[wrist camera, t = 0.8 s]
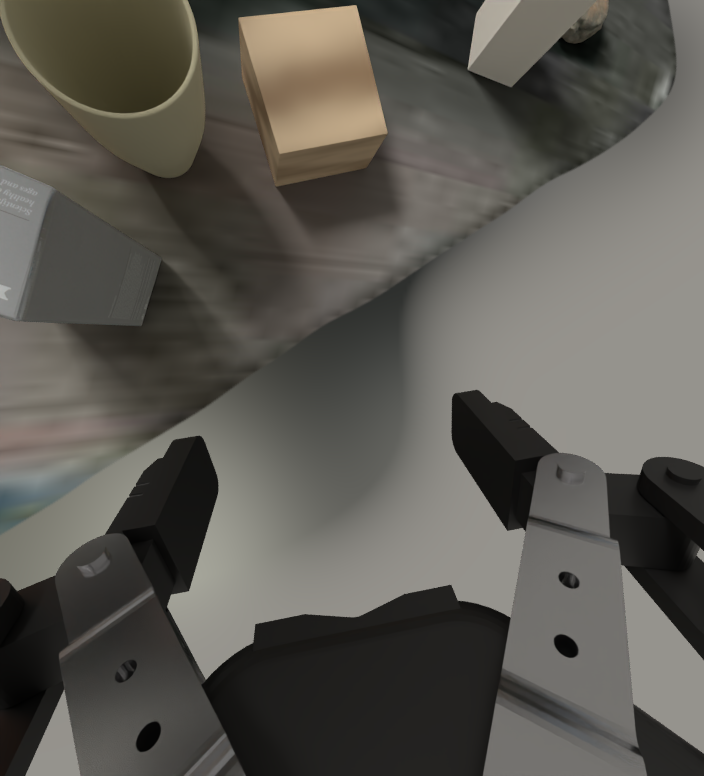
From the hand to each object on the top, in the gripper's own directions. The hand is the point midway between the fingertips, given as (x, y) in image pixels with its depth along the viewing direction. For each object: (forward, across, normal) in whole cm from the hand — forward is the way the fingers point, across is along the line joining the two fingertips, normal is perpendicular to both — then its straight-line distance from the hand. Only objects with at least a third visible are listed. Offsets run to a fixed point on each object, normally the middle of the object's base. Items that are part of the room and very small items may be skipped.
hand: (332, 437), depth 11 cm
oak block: (+30, -2, -14) cm, 33 cm away
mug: (+28, +11, -14) cm, 33 cm away
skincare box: (+24, +17, -4) cm, 30 cm away
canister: (+36, -22, -19) cm, 46 cm away
